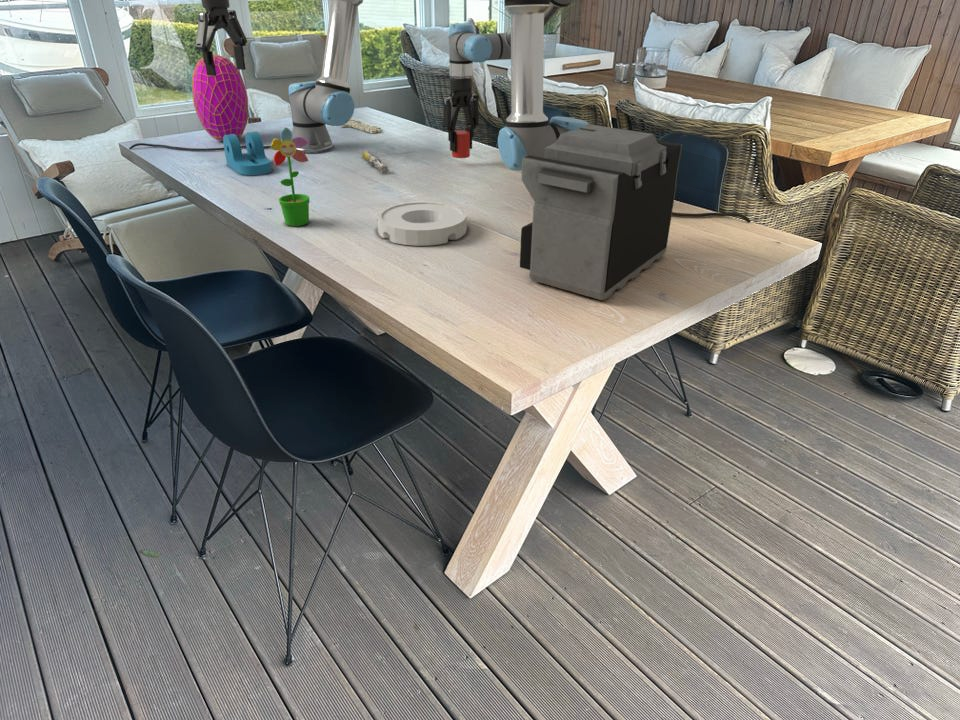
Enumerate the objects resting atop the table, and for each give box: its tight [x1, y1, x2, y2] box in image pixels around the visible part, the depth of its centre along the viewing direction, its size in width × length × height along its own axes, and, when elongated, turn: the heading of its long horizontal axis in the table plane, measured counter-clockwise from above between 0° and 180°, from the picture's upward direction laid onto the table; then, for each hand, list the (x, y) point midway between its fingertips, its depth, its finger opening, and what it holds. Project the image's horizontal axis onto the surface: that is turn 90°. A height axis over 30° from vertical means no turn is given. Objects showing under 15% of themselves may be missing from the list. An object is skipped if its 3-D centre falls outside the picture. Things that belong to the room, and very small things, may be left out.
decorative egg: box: [191, 54, 249, 142], centre depth 255 cm, size 19×19×30 cm
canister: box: [451, 129, 471, 159], centre depth 232 cm, size 6×6×8 cm
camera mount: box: [222, 131, 272, 176], centre depth 226 cm, size 18×10×10 cm, turn 35°
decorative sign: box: [341, 118, 382, 134], centre depth 285 cm, size 26×1×10 cm
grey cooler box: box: [519, 123, 683, 301], centre depth 152 cm, size 37×22×30 cm, turn 144°
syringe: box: [361, 149, 390, 175], centre depth 234 cm, size 25×4×3 cm, turn 21°
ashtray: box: [376, 200, 468, 247], centre depth 179 cm, size 23×23×4 cm
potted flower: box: [270, 127, 310, 227], centre depth 177 cm, size 9×8×25 cm
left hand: (226, 72), depth 207 cm, fingers open, 13 cm apart
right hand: (461, 149), depth 233 cm, fingers closed on canister, 6 cm apart
